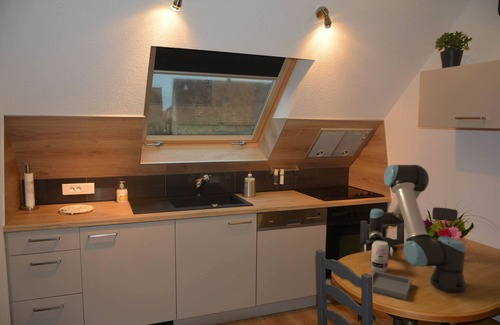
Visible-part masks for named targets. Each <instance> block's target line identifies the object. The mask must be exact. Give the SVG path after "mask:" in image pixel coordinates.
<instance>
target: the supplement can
mask: <svg viewBox="0 0 500 325" xmlns="http://www.w3.org/2000/svg"><path fill="white" fill-rule="evenodd" d="M389 252H390V251H389V246H388V243H387V241H384V240H383V241H374V243H373V244H372V247H371V258H370V270H371V271H372V272H373V271H377V272H382V273H387V271H388V264H389Z"/></svg>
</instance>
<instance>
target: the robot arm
mask: <svg viewBox="0 0 500 325" xmlns="http://www.w3.org/2000/svg"><path fill="white" fill-rule="evenodd" d="M429 177H430V176H429V174H428V171H427V170H426V169H425V168H424V167H423V166H420V165H418V164H391V165H388V166H387V167H386V168H385V171H384V176H383V182H384V185H385V186H386V187H387V188H390V190H391V193H393V194H395V196H396V199H397V200H396V201H397V204H396V206H395V207H394V209H393V210H392V212H391V211H390V212H386V211H385V212H384V210H383V209H382V208H381V209H380V208H372V209H371V210H370V213H369V227H368V228H369V230H368V238H369V240H367V238H366V239H365V238H364V240H362V241H361V242H358V248H359V249H360V248H361V250H362V251H363V252H364V253H363V254H367V249H368V248H372V244H373V243H374V241H384V237H383V227H384V226H401V225H403V226H405V230H406V234H407V237H406V239H405V241H406V242H404V244H403V254H404V257H405V259H406V260H407V262H408V263H409V264H410V265H411V266H414V267H420V268H424V267H434V269H433V271H432V274H431V276H430V279H429V282H430V284H431V286H433V287H434V288H436V289H438V290H440V291H444V292H448V293H463V292H465V291H466V287H467V284H466V279H465V277H464V266H465V264H464V263H465V254H466V244H465V243H464V242H463V241H462V240H460V239H457V238H454V237H449V236H446V237H445V236H440V235H439V236H440V237H439V236H438V238H437V240H433V236H432V235H431V234H430V233H428V232H427V229H426V226H425V223H424V220H423V218H422V215H421V210H420V208H419V204H418V202H417V199H418V197H419V196H420V194H421V193H422V192H424V191H425V190H426V189H427V188H428V186H429V182H430V178H429ZM398 214H401V215H402V217H403V220H404V223H403V222H402V221H401V220H400V219H399V217H398ZM386 243H388V246H389V251H388V252H389V254H390V256H391V257H394V254H395V253H397V252H398V246H396V245H394V244H392V243H391V241H386Z"/></svg>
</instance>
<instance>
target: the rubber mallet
mask: <svg viewBox="0 0 500 325" xmlns="http://www.w3.org/2000/svg"><path fill="white" fill-rule="evenodd" d="M431 214H432V218H431V219H432V220H435V221H439V220H445V219H447V221H455V220H457V221H458V214H459V212H458V209H453V208H448V207H437V206H436V207H433V208H432V213H431Z"/></svg>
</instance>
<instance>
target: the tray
mask: <svg viewBox="0 0 500 325" xmlns="http://www.w3.org/2000/svg"><path fill="white" fill-rule="evenodd" d="M370 275H372V276H373V294H376V295H381V296H383V297H384V296H385V297H389V298H393V299H396V300H401V301H404V302H406V301H407V300H408V297H409V294H410V291H411V288H412V283H413V282H412V281H413V279H412V278H407V277H404V276H399V275H395V274H390V273H387V272H385V273H382V272H377V271H372V272H371V274H370Z"/></svg>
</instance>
